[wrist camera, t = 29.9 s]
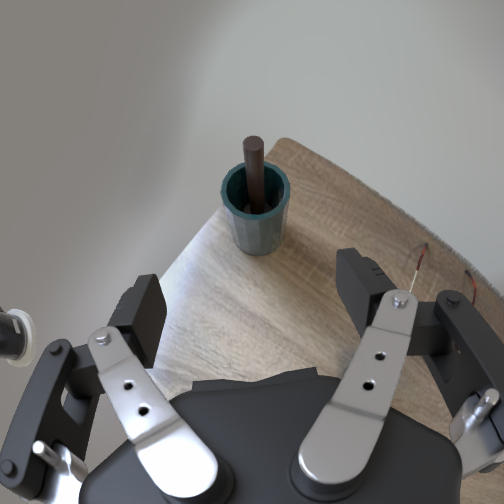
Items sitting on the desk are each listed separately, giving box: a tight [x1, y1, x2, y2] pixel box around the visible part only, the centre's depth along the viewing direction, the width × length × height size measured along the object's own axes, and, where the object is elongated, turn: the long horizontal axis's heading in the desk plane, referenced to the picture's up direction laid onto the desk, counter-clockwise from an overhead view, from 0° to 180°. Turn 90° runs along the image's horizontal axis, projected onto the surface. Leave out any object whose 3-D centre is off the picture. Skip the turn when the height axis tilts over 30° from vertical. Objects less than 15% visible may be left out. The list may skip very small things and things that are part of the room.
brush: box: [243, 136, 272, 215], centre depth 37 cm, size 4×4×22 cm
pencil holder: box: [221, 161, 290, 256], centre depth 42 cm, size 8×8×14 cm
